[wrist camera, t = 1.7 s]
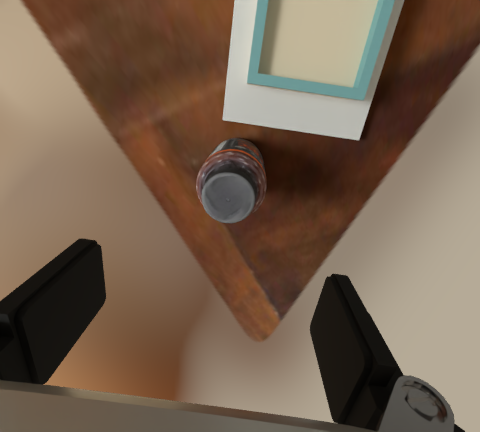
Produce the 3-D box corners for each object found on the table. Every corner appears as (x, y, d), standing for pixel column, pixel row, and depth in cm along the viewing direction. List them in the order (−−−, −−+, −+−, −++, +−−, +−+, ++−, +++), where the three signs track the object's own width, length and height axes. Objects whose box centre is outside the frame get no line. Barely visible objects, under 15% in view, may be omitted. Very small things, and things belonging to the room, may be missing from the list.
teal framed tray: (247, -114, 20) (246, -167, 16) (425, -85, 20) (468, -130, 16) (223, 119, 27) (218, 122, 23) (354, 138, 27) (372, 145, 23)
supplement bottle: (274, 158, 28) (287, 192, 18) (243, 198, 31) (238, 249, 20) (230, 124, 27) (217, 141, 17) (200, 169, 29) (173, 208, 19)
